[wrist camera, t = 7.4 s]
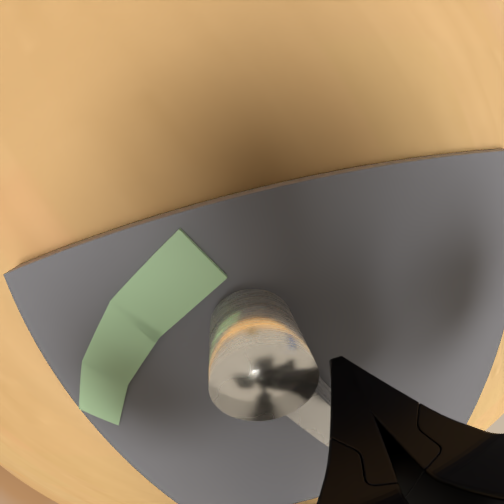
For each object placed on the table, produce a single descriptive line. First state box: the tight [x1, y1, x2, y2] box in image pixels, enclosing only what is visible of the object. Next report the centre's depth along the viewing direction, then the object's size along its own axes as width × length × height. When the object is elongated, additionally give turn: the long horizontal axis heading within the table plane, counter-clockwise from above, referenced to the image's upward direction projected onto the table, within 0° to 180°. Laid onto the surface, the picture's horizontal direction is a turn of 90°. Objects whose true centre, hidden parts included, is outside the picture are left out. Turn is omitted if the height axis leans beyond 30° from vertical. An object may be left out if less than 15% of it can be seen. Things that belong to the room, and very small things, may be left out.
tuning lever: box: [208, 289, 331, 447], centre depth 9 cm, size 15×4×3 cm, turn 36°
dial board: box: [4, 149, 504, 504], centre depth 12 cm, size 22×24×1 cm
